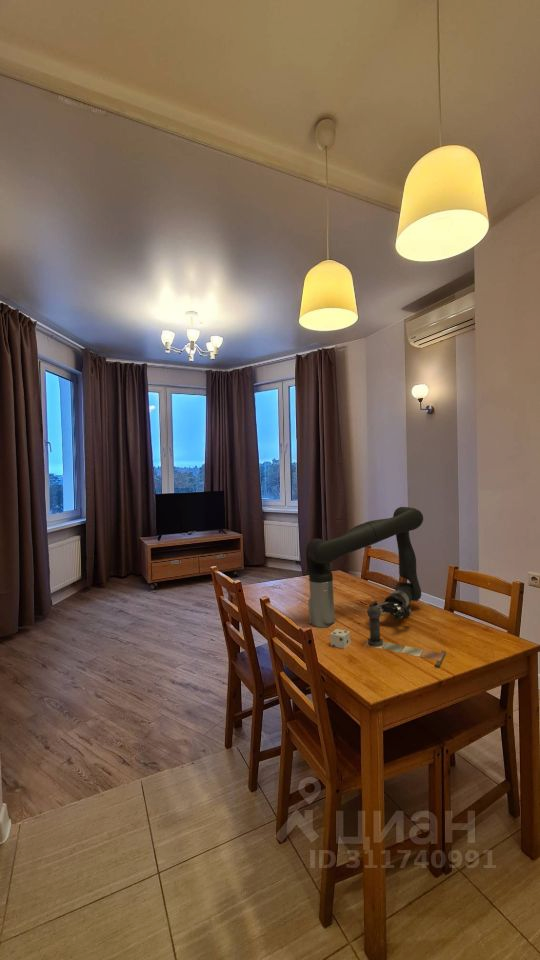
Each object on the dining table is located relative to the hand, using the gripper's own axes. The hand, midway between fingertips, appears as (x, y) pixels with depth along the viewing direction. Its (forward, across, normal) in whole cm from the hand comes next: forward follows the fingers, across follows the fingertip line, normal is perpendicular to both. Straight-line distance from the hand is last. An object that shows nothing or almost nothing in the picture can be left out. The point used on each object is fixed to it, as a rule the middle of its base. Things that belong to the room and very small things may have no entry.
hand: (384, 615), depth 138 cm
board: (+10, +9, +7) cm, 15 cm away
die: (+16, -10, +7) cm, 20 cm away
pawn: (+10, 0, +6) cm, 12 cm away
